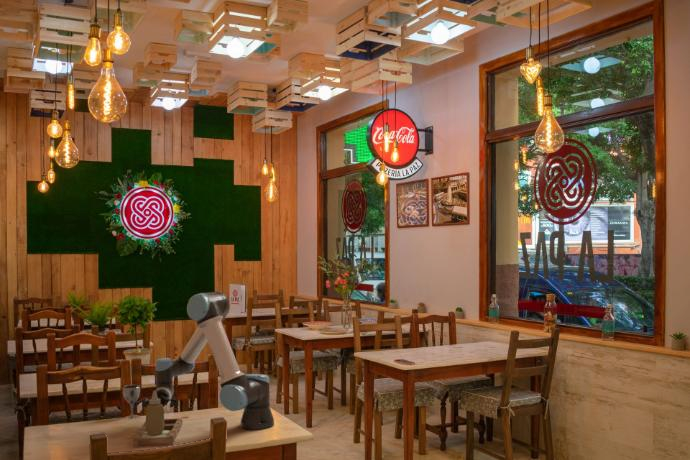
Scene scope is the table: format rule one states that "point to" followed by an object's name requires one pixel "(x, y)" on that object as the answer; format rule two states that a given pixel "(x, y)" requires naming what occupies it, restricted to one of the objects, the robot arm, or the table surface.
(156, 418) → the squeeze bottle
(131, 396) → the wine glass
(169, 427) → the board
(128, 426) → the table surface
